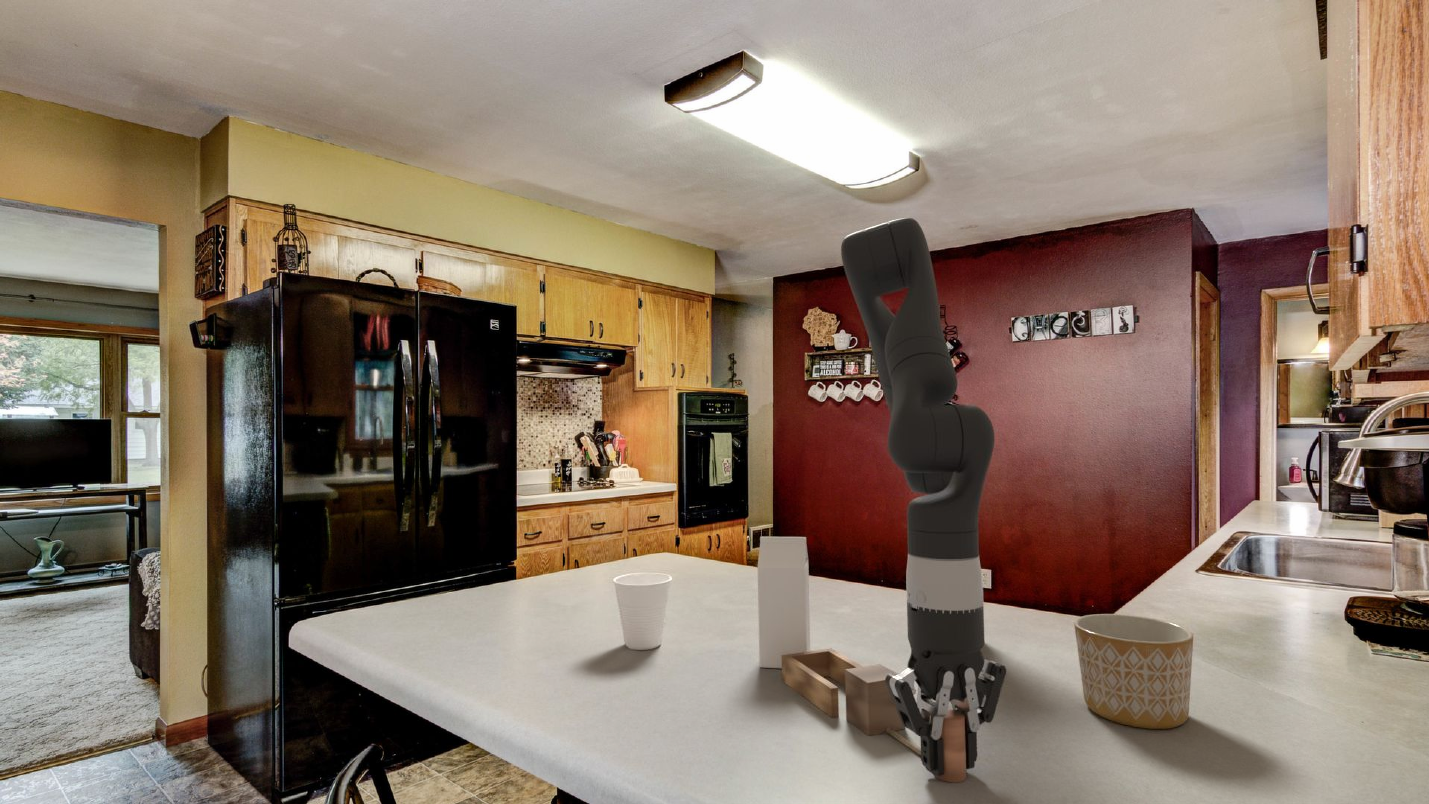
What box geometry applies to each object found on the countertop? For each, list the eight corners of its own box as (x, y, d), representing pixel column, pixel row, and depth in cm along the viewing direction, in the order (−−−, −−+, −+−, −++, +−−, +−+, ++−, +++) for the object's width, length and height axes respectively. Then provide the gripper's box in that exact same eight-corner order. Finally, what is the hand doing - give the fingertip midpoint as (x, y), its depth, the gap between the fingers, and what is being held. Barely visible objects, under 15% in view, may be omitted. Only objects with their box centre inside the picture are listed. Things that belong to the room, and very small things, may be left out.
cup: (602, 650, 114) (601, 582, 115) (631, 633, 123) (630, 571, 124) (656, 657, 110) (655, 586, 111) (682, 639, 120) (681, 574, 120)
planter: (1200, 744, 77) (1196, 648, 78) (1072, 720, 84) (1069, 632, 84) (1194, 705, 88) (1190, 621, 89) (1081, 687, 95) (1078, 609, 95)
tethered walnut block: (846, 719, 86) (845, 669, 86) (881, 712, 87) (879, 663, 87) (939, 786, 69) (937, 724, 69) (980, 777, 71) (978, 716, 71)
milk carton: (807, 670, 103) (804, 540, 104) (759, 668, 104) (756, 540, 105) (810, 655, 110) (807, 533, 111) (765, 653, 111) (763, 533, 112)
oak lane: (781, 680, 99) (781, 655, 99) (831, 672, 102) (831, 648, 102) (831, 717, 86) (831, 688, 86) (887, 707, 89) (886, 679, 89)
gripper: (974, 584, 78) (979, 742, 77) (865, 596, 73) (869, 765, 72) (1025, 599, 71) (1031, 773, 70) (908, 614, 66) (914, 800, 65)
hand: (949, 768), depth 71 cm, fingers closed on tethered walnut block, 3 cm apart
